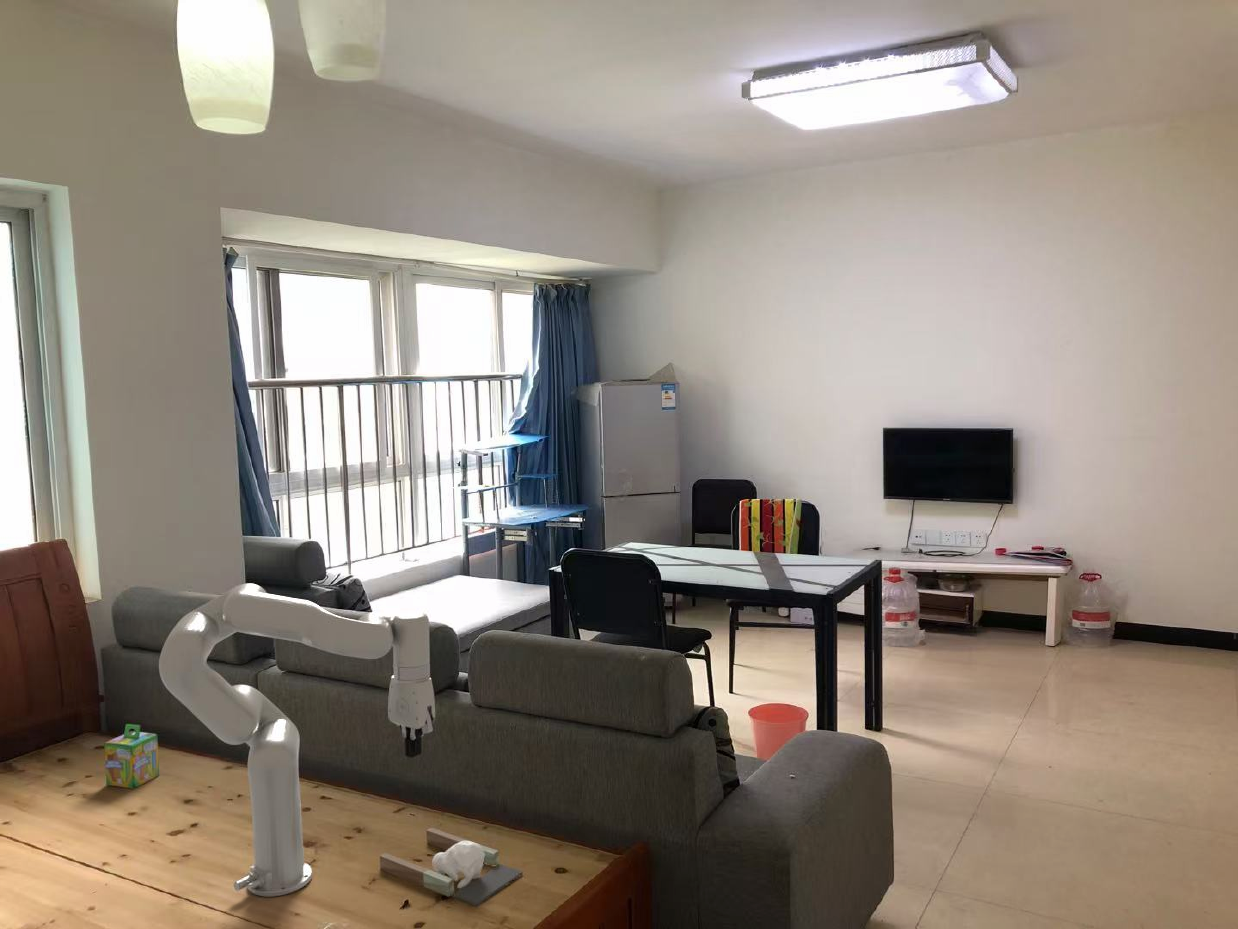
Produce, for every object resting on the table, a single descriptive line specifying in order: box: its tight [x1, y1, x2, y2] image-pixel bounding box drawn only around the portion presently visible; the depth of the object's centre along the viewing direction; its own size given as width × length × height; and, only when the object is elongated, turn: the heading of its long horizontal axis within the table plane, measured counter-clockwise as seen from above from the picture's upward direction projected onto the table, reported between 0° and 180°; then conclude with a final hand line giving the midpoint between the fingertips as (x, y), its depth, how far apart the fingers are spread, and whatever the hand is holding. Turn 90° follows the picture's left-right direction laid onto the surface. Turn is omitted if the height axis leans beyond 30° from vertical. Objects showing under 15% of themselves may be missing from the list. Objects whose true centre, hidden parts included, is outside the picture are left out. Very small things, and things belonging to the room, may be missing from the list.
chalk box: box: [104, 723, 160, 790], centre depth 249 cm, size 9×9×15 cm
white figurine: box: [431, 840, 485, 890], centre depth 197 cm, size 6×8×12 cm
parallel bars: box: [379, 827, 500, 897], centre depth 202 cm, size 15×20×3 cm
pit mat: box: [453, 863, 523, 907], centre depth 194 cm, size 14×6×1 cm, turn 146°
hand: (413, 755), depth 203 cm, fingers closed
